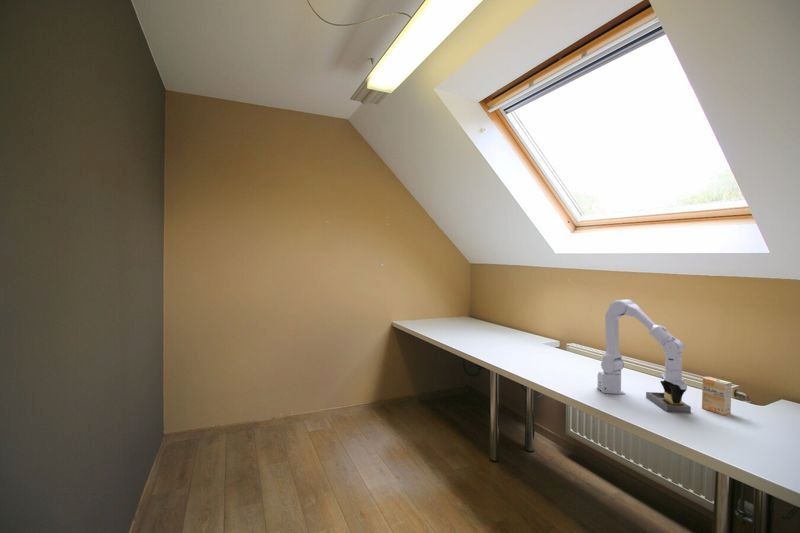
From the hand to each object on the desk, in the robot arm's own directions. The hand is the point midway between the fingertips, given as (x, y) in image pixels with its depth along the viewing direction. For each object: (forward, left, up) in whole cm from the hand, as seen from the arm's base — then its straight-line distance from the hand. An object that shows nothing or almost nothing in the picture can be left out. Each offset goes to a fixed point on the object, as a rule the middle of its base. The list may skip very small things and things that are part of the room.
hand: (672, 400), depth 158 cm
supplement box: (+16, -1, -3) cm, 16 cm away
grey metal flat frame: (0, +4, -3) cm, 5 cm away
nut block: (0, 0, -2) cm, 2 cm away
